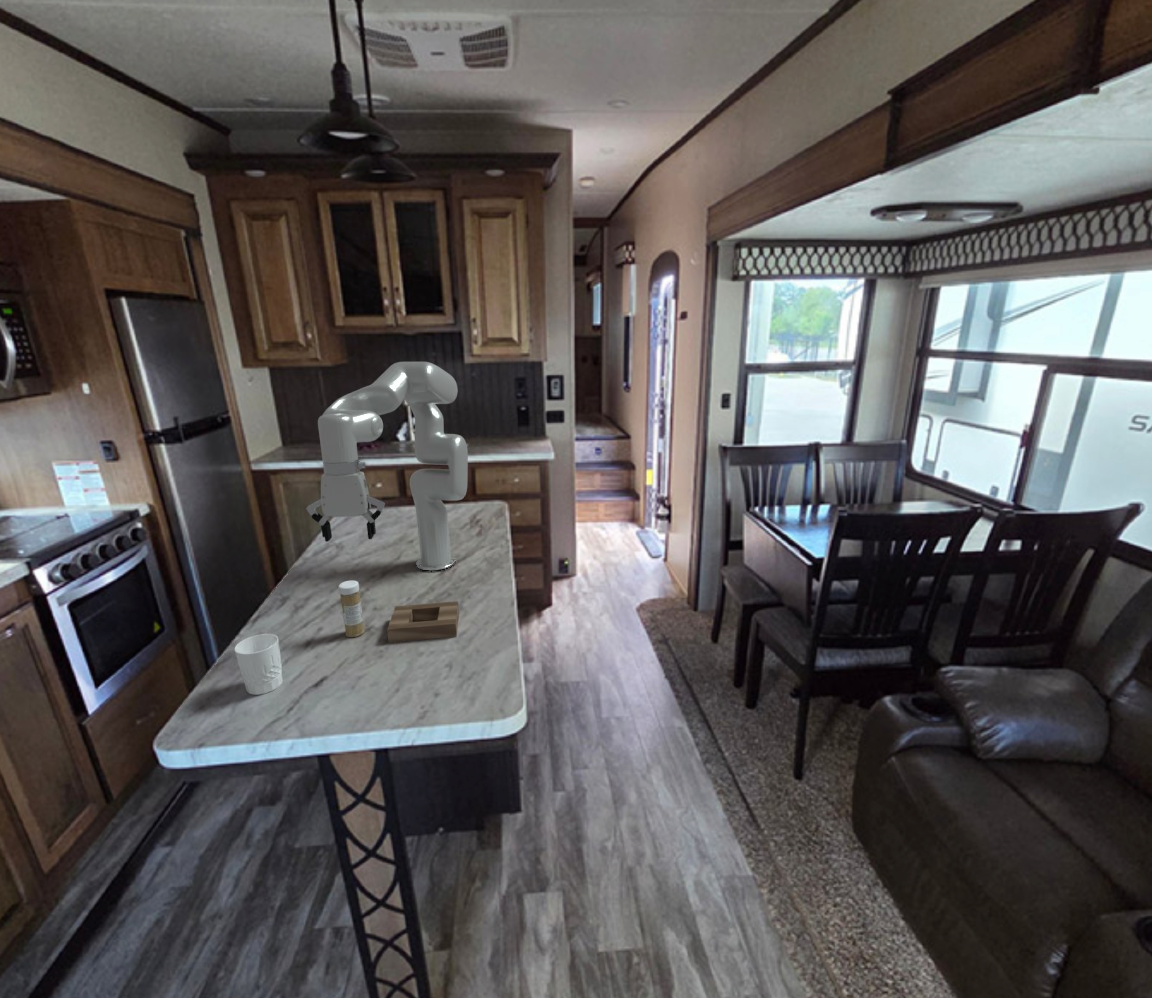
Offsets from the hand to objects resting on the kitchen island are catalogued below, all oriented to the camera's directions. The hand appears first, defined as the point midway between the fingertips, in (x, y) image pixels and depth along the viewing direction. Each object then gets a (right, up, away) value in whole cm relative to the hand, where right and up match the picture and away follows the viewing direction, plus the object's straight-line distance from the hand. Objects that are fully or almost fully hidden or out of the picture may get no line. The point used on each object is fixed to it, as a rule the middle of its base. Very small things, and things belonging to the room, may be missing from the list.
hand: (350, 538), depth 129 cm
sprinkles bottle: (-1, -24, +6) cm, 25 cm away
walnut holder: (+16, -23, +8) cm, 29 cm away
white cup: (-12, -30, -15) cm, 35 cm away
